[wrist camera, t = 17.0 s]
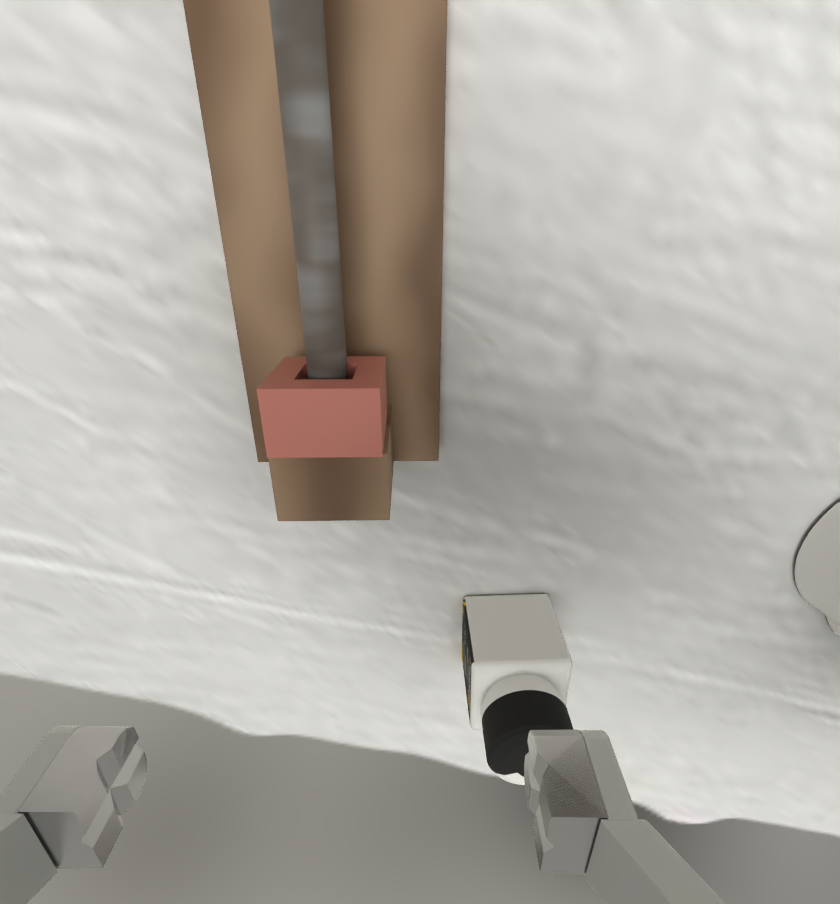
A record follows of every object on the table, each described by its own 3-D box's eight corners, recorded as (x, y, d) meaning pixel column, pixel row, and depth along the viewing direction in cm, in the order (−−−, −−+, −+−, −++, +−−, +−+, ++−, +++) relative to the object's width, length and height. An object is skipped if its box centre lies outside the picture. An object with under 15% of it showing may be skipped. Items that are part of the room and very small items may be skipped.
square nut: (385, 356, 27) (379, 388, 22) (387, 414, 29) (382, 457, 24) (284, 356, 27) (256, 389, 22) (292, 415, 29) (267, 457, 24)
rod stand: (447, -172, 21) (470, -407, 13) (436, 447, 35) (444, 519, 26) (170, -176, 21) (22, -417, 13) (266, 448, 34) (221, 521, 26)
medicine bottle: (462, 594, 41) (481, 732, 30) (548, 591, 41) (598, 728, 30) (461, 655, 44) (478, 801, 33) (541, 653, 44) (584, 797, 33)
